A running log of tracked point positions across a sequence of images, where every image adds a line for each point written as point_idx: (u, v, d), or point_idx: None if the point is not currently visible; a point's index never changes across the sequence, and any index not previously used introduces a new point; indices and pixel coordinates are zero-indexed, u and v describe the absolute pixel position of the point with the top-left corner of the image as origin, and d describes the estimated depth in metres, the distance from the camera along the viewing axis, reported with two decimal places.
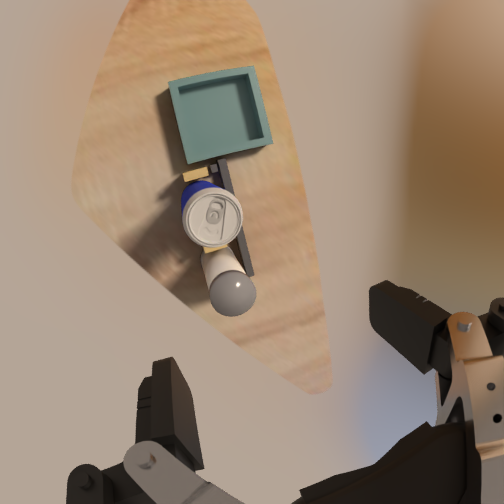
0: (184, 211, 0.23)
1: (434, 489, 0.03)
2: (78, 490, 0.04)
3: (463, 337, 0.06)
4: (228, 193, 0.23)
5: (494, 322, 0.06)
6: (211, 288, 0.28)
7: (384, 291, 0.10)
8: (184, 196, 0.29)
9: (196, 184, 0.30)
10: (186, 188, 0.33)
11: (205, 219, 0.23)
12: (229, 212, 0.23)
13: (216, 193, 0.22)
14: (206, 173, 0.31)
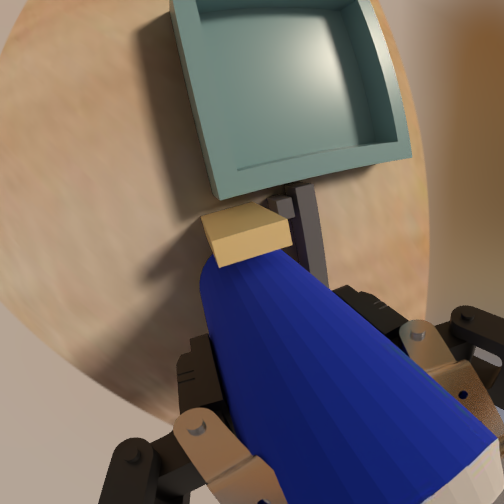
0: None
1: None
2: (123, 463, 0.05)
3: (413, 347, 0.06)
4: None
5: (457, 333, 0.07)
6: None
7: (341, 296, 0.10)
8: (229, 342, 0.08)
9: (265, 288, 0.09)
10: (216, 268, 0.12)
11: None
12: None
13: (489, 501, 0.01)
14: (286, 239, 0.10)
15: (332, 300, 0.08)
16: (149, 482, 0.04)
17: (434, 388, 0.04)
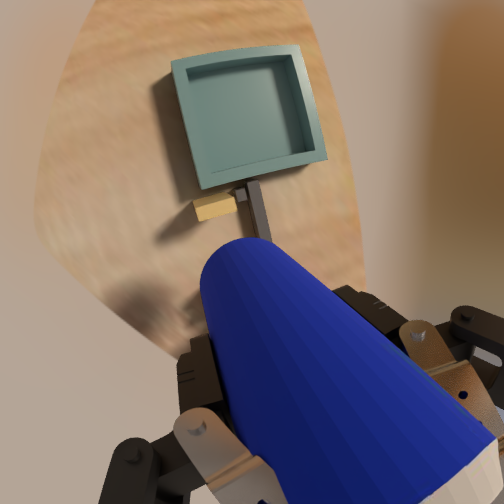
0: None
1: None
2: (123, 463, 0.05)
3: (413, 347, 0.06)
4: None
5: (457, 333, 0.07)
6: None
7: (341, 296, 0.10)
8: (229, 341, 0.08)
9: (264, 288, 0.09)
10: (216, 268, 0.13)
11: None
12: None
13: (487, 501, 0.01)
14: (233, 207, 0.20)
15: (332, 300, 0.08)
16: (149, 482, 0.04)
17: (433, 388, 0.04)
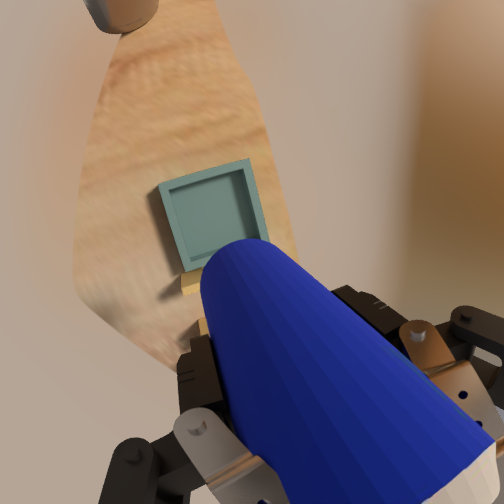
0: None
1: None
2: (123, 463, 0.05)
3: (413, 347, 0.06)
4: None
5: (457, 333, 0.07)
6: None
7: (341, 296, 0.10)
8: (229, 343, 0.08)
9: (265, 290, 0.09)
10: (216, 269, 0.13)
11: None
12: None
13: None
14: None
15: (332, 302, 0.08)
16: (149, 482, 0.04)
17: (433, 391, 0.04)
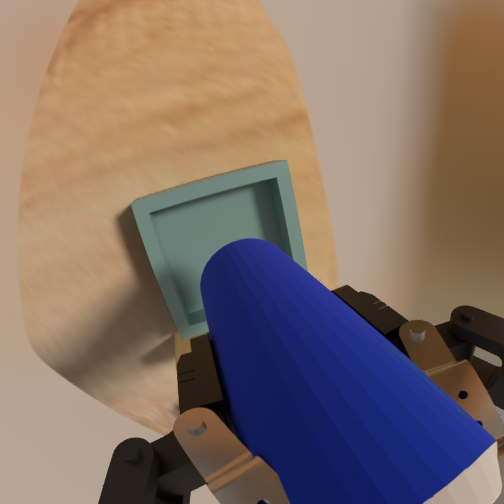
0: None
1: None
2: (123, 463, 0.05)
3: (413, 347, 0.06)
4: None
5: (457, 333, 0.07)
6: None
7: (341, 296, 0.10)
8: (230, 343, 0.08)
9: (265, 290, 0.09)
10: (217, 269, 0.12)
11: None
12: None
13: (487, 503, 0.01)
14: None
15: (333, 302, 0.08)
16: (149, 482, 0.04)
17: (434, 390, 0.04)
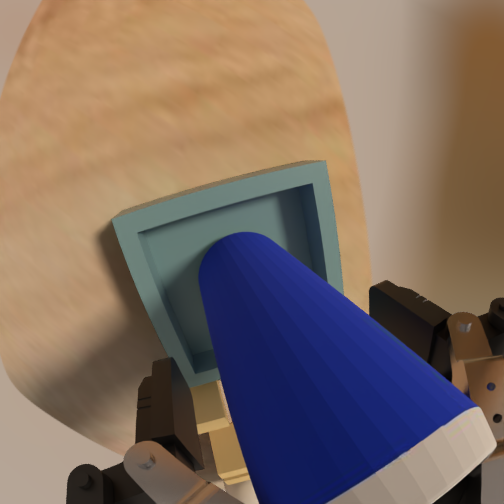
0: None
1: None
2: (78, 490, 0.04)
3: (463, 337, 0.06)
4: (486, 424, 0.03)
5: (494, 322, 0.06)
6: None
7: (384, 291, 0.10)
8: (223, 322, 0.09)
9: (256, 273, 0.10)
10: (213, 259, 0.13)
11: None
12: None
13: (471, 466, 0.02)
14: (225, 424, 0.14)
15: (319, 282, 0.09)
16: None
17: (412, 357, 0.05)
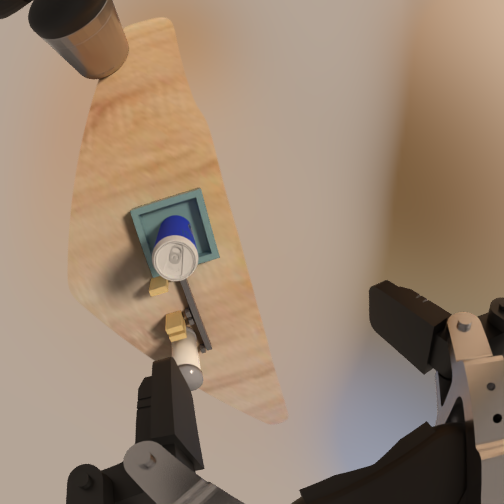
0: (152, 254, 0.29)
1: (434, 489, 0.03)
2: (78, 490, 0.04)
3: (463, 337, 0.06)
4: (185, 240, 0.29)
5: (494, 322, 0.06)
6: None
7: (384, 291, 0.10)
8: None
9: (167, 223, 0.36)
10: (162, 223, 0.40)
11: (168, 260, 0.29)
12: (186, 254, 0.29)
13: (175, 241, 0.29)
14: (166, 290, 0.41)
15: (179, 224, 0.35)
16: None
17: (181, 232, 0.31)
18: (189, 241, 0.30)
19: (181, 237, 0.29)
